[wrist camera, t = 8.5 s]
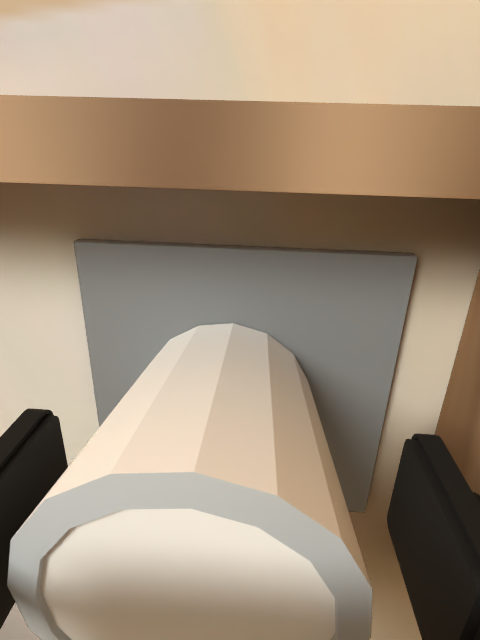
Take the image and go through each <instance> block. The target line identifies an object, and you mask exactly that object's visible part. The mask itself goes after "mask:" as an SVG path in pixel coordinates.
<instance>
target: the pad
mask: <svg viewBox="0 0 480 640" xmlns="http://www.w3.org/2000/svg"><path fill="white" fill-rule="evenodd" d="M74 247H75V255H76V262H77V269H78V276H79V284H80V291H81V298H82V305H83V313H84V320H85V327H86V334H87V341H88V349H89V356H90V363H91V370H92V378H93V385H94V392H95V399H96V407H97V414H98V421H99V427H100V426H101V425H102V423H103V422H104V421H105V420H106V418H107V417H108V416H109V415H110V413H111V412H112V411H113V410H114V408H115V407H116V406H117V405H118V403H119V402H120V401H121V399H122V398H123V397H124V396H125V394H126V393H127V392H128V391H129V389H130V388H131V387H132V386H133V384H134V383H135V382H136V380H137V379H138V378H139V377H140V375H141V374H142V373H143V372H144V370H145V369H146V368H147V367H148V365H149V364H150V363H151V361H152V360H153V359H154V358H155V357H156V355H157V354H158V353H159V352H160V351H161V349H162V348H163V347H164V346H165V345H166V343H167V342H168V341H169V340H170V339H172V338H174V337H176V336H178V335H180V334H182V333H184V332H186V331H188V330H191V329H193V328H195V327H197V326H199V325H214V324H230V323H234V324H237V325H241V326H244V327H247V328H251V329H254V330H257V331H261V332H264V333H267V334H268V335H270V336H271V337H272V338H273V339H275V340H276V341H277V342H279V343H280V344H281V345H283V346H284V347H285V348H286V349H288V350H289V351H290V352H292V353H293V354H294V356H295V358H296V360H297V362H298V363H299V365H300V367H301V369H302V371H303V373H304V374H305V376H306V378H307V380H308V383H309V386H310V389H311V392H312V396H313V399H314V402H315V405H316V408H317V412H318V415H319V418H320V421H321V425H322V428H323V431H324V434H325V438H326V441H327V444H328V447H329V451H330V454H331V457H332V460H333V463H334V467H335V470H336V473H337V476H338V480H339V483H340V486H341V489H342V493H343V496H344V499H345V502H346V505H347V509H348V511H352V512H365V509H366V504H367V499H368V494H369V490H370V485H371V480H372V475H373V470H374V465H375V461H376V456H377V451H378V446H379V441H380V436H381V432H382V427H383V422H384V417H385V412H386V407H387V403H388V398H389V393H390V388H391V383H392V378H393V373H394V369H395V364H396V359H397V354H398V349H399V344H400V340H401V335H402V330H403V325H404V320H405V315H406V311H407V306H408V301H409V296H410V291H411V286H412V282H413V277H414V272H415V267H416V262H417V256H416V255H415V254H413V253H397V252H373V251H350V250H326V249H303V248H279V247H256V246H233V245H209V244H186V243H162V242H139V241H115V240H92V239H78V240H76V241H75V242H74Z"/></svg>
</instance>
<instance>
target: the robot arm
mask: <svg viewBox="0 0 480 640" xmlns="http://www.w3.org/2000/svg"><path fill="white" fill-rule="evenodd" d="M67 468H68V465H67V460H66V454H65V449H64V444H63V438H62V433H61V427H60V422H59V418H58V417H57V416H54V415H53V413H52V411H51V410H43V409H27V410H25V411H24V412H23V413H22V414H21V415H20V416H19V417H18V419H17V420H16V421H15V422H14V423H13V424H12V425H11V426H10V427H9V428H8V429H7V431H6V432H5V433H4V434H3V435H2V436H1V437H0V628H1V627H2V625H3V623H4V621H5V619H6V618H7V616H8V614H9V612H10V610H11V609H12V607H13V605H14V603H15V600H14V598H13V596H12V594H11V592H10V590H9V588H8V586H7V580H8V567H9V554H10V542H11V539H12V537H13V536H14V535H15V534H16V532H17V531H18V530H19V529H20V527H21V526H22V525H23V524H24V522H25V521H26V520H27V518H28V517H29V516H30V515H31V513H32V512H33V511H34V510H35V508H36V507H37V506H38V505H39V503H40V502H41V501H42V499H43V498H44V497H45V496H46V494H47V493H48V492H49V491H50V489H51V488H52V487H53V486H54V484H55V483H56V482H57V480H58V479H59V478H60V477H61V475H62V474H63V473H64V472H65V470H66V469H67ZM387 522H388V529H389V532H390V536H391V539H392V542H393V545H394V549H395V552H396V555H397V558H398V562H399V565H400V568H401V572H402V575H403V578H404V581H405V585H406V588H407V591H408V594H409V598H410V601H411V604H412V607H413V611H414V614H415V617H416V620H417V624H418V627H419V630H420V634H421V637H422V640H480V495H479V494H477V493H476V492H472V490H471V488H470V487H469V485H468V483H467V482H466V480H465V478H464V476H463V475H462V473H461V471H460V470H459V468H458V466H457V464H456V463H455V461H454V459H453V457H452V456H451V454H450V452H449V451H448V449H447V447H446V445H445V444H444V442H443V440H442V439H441V437H440V436H438V435H428V434H414V435H413V437H412V439H406V441H405V443H404V448H403V452H402V456H401V460H400V464H399V469H398V473H397V477H396V481H395V485H394V490H393V494H392V498H391V502H390V506H389V511H388V516H387Z"/></svg>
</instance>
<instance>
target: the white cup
mask: <svg viewBox="0 0 480 640" xmlns="http://www.w3.org/2000/svg"><path fill="white" fill-rule="evenodd" d="M7 586H8V588H9V590H10V592H11V594H12V596H13V598H14V600H15V602H16V604H17V606H18V608H19V610H20V612H21V614H22V616H23V618H24V620H25V622H26V624H27V626H28V628H29V629H30V630H31V631H32V632H33V633H34V634H35V635H37V636H38V637H39V638H40V639H41V640H369V639H370V638H371V620H372V591H373V589H372V586H371V583H370V580H369V577H368V573H367V570H366V567H365V564H364V560H363V557H362V554H361V551H360V547H359V544H358V541H357V538H356V535H355V531H354V528H353V525H352V522H351V518H350V515H349V512H348V509H347V505H346V502H345V499H344V496H343V493H342V489H341V486H340V483H339V480H338V476H337V473H336V470H335V467H334V463H333V460H332V457H331V454H330V451H329V447H328V444H327V441H326V438H325V434H324V431H323V428H322V425H321V421H320V418H319V415H318V412H317V408H316V405H315V402H314V399H313V396H312V392H311V389H310V386H309V383H308V380H307V378H306V376H305V374H304V373H303V371H302V369H301V367H300V365H299V363H298V362H297V360H296V358H295V356H294V354H293V353H292V352H290V351H289V350H288V349H286V348H285V347H284V346H283V345H281V344H280V343H279V342H277V341H276V340H275V339H273V338H272V337H271V336H270V335H268V334H267V333H264V332H261V331H257V330H254V329H251V328H247V327H244V326H241V325H237V324H234V323H230V324H214V325H199V326H197V327H195V328H193V329H191V330H188V331H186V332H184V333H182V334H180V335H178V336H176V337H174V338H172V339H170V340H169V341H168V342H167V343H166V345H165V346H164V347H163V348H162V349H161V351H160V352H159V353H158V354H157V355H156V357H155V358H154V359H153V360H152V361H151V363H150V364H149V365H148V367H147V368H146V369H145V370H144V372H143V373H142V374H141V375H140V377H139V378H138V379H137V380H136V382H135V383H134V384H133V386H132V387H131V388H130V389H129V391H128V392H127V393H126V394H125V396H124V397H123V398H122V399H121V401H120V402H119V403H118V405H117V406H116V407H115V408H114V410H113V411H112V412H111V413H110V415H109V416H108V417H107V418H106V420H105V421H104V422H103V423H102V425H101V426H100V427H99V429H98V430H97V431H96V432H95V434H94V435H93V436H92V437H91V439H90V440H89V441H88V442H87V444H86V445H85V446H84V448H83V449H82V450H81V451H80V453H79V454H78V455H77V456H76V458H75V459H74V460H73V461H72V463H71V464H70V465H69V467H68V468H67V469H66V470H65V472H64V473H63V474H62V475H61V477H60V478H59V479H58V480H57V482H56V483H55V484H54V486H53V487H52V488H51V489H50V491H49V492H48V493H47V494H46V496H45V497H44V498H43V499H42V501H41V502H40V503H39V505H38V506H37V507H36V508H35V510H34V511H33V512H32V513H31V515H30V516H29V517H28V518H27V520H26V521H25V522H24V524H23V525H22V526H21V527H20V529H19V530H18V531H17V532H16V534H15V535H14V536H13V537H12V539H11V542H10V554H9V567H8V580H7Z"/></svg>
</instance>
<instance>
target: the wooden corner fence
mask: <svg viewBox="0 0 480 640" xmlns="http://www.w3.org/2000/svg"><path fill="white" fill-rule="evenodd" d="M0 182H11V183H39V184H67V185H95V186H123V187H151V188H180V189H208V190H236V191H264V192H292V193H320V194H348V195H377V196H405V197H433V198H461V199H480V107H475V106H433V105H392V104H350V103H308V102H267V101H225V100H183V99H142V98H100V97H59V96H17V95H0ZM435 435H438V436H440V437H441V439H442V440H443V442H444V444H445V445H446V447H447V449H448V451H449V452H450V454H451V456H452V457H453V459H454V461H455V463H456V464H457V466H458V468H459V470H460V471H461V473H462V475H463V476H464V478H465V480H466V482H467V483H468V485H469V487H470V488H471V490H472V492H476V493H477V494H479V495H480V270H479V274H478V278H477V281H476V285H475V289H474V292H473V296H472V300H471V303H470V307H469V311H468V314H467V318H466V322H465V325H464V329H463V333H462V336H461V340H460V344H459V347H458V351H457V355H456V358H455V362H454V366H453V369H452V373H451V377H450V380H449V384H448V388H447V391H446V395H445V399H444V402H443V406H442V410H441V413H440V417H439V421H438V424H437V428H436V432H435Z"/></svg>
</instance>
